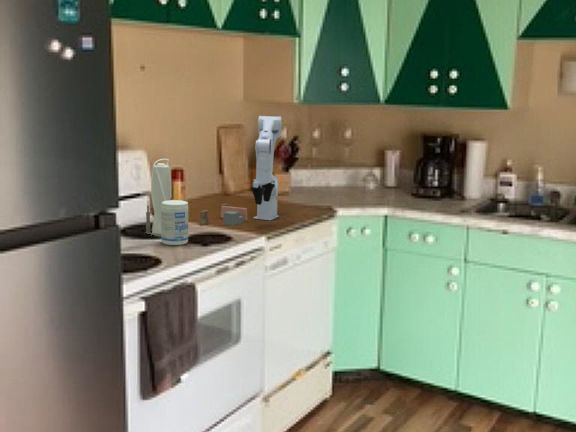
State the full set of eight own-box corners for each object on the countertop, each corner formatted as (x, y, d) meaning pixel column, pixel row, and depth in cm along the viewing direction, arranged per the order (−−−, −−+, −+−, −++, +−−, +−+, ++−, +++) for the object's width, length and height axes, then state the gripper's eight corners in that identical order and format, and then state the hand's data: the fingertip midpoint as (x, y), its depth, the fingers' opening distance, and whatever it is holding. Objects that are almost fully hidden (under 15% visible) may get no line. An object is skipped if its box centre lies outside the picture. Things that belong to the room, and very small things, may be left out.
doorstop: (234, 220, 276) (234, 209, 274) (243, 222, 274) (243, 210, 273) (223, 224, 267) (223, 212, 266) (233, 226, 266) (233, 214, 265)
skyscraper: (159, 230, 254) (158, 157, 248) (176, 232, 251) (176, 159, 245) (144, 234, 247) (143, 159, 241) (162, 237, 243) (161, 161, 237)
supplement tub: (179, 247, 230) (179, 205, 227) (155, 244, 233) (155, 203, 230) (193, 241, 239) (193, 201, 236) (170, 238, 242) (170, 198, 239)
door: (221, 218, 278) (221, 206, 277) (222, 217, 279) (222, 205, 278) (246, 220, 274) (246, 209, 273) (247, 220, 276) (247, 208, 275)
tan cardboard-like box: (224, 216, 283) (224, 203, 282) (227, 216, 283) (227, 203, 282) (199, 225, 265) (200, 211, 264) (203, 225, 264) (203, 212, 263)
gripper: (262, 166, 271) (261, 199, 273) (246, 170, 258) (245, 204, 260) (277, 167, 268) (276, 200, 271) (262, 172, 255) (261, 206, 258)
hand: (262, 202), depth 265 cm, fingers open, 7 cm apart
